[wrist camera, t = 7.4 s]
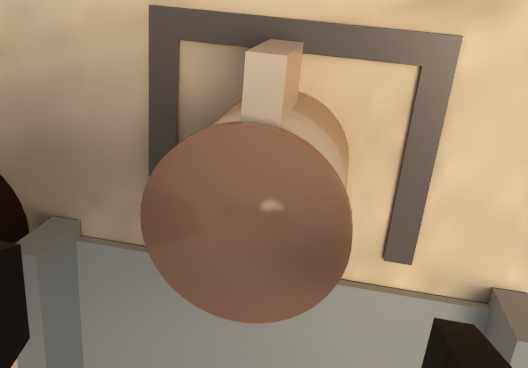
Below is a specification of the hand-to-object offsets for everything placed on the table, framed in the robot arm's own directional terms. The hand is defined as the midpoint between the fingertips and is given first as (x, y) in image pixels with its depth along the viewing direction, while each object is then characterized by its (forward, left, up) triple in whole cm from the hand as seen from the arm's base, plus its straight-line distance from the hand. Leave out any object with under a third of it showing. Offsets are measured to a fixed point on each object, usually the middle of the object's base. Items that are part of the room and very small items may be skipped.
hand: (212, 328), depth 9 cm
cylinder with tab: (0, 0, -10) cm, 10 cm away
